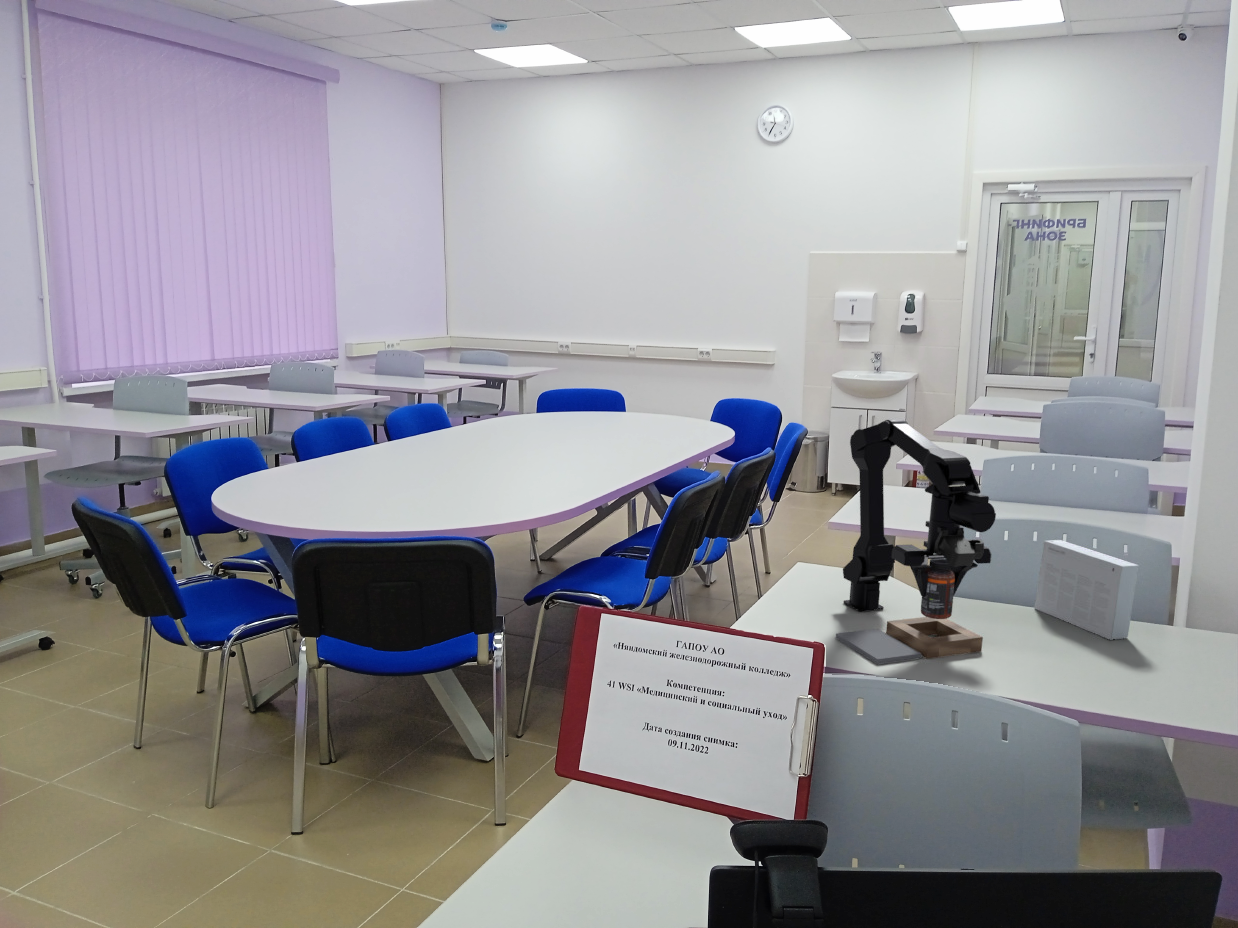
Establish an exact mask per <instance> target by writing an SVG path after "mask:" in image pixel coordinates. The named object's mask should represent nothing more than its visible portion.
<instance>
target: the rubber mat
mask: <svg viewBox="0 0 1238 928" xmlns="http://www.w3.org/2000/svg"><path fill="white" fill-rule="evenodd" d="M835 639H836V640H838V641H839V642H841V643H843V644H844V645H845V646H847V647H849V648H850V649H853V650H854V651H856V653H858V654H860V655H862V656H864V657H865V658H866V659H868V660H870V661H871V662H873V663H875V664H876V665H882V664H883V665H884V664H890V663H896V662H897V663H898V662H905V661H910V660H918V659H922V656H921V653H920V652H918V651H916V650H914V649H913V648H911V647H909V646H907V645H906V644H904V643H902V642H900V641H899V640H897V639H895V638H893V637H892V636H890V635H888V634H886V631H885V632H884V631H883V630H881V629H880V628H870V629H862V630H861V629H860V630H854V631H846V632H845V631H844V632H838V633H837V632H836V633H835Z"/></svg>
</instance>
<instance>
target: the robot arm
mask: <svg viewBox="0 0 1238 928" xmlns="http://www.w3.org/2000/svg"><path fill="white" fill-rule="evenodd" d="M849 445H850V452H851V458H852V461H853V462H854V464H855V465H856V466H857V468H858V470H859V471H858V472H859V516H860V517H859V519H860V520H859V521H860V525H859V526H860V528H859V530H860V536H859V538H858V539H857V540H856V543H855V545H854V546H853V551H852V559H851V560H850V561H849V562H848V563H847V564H846V565H845V566H844V567H843V568H842V573H843V579H844V580H847V581H848V582H850V589H849V599H846V600H843V604H845V605H846V606H848V607H850V608H852V609H854V610H856V611H857V612H868V611H880V610H881V611H882V610H884V608H885V607H884V605H881V604H880V594H881V591H880V586H881V583H880V582H887V581H888V580H889V578H890V575H891V574H892V573H891V572H892V571H893V569H894V564H895V563H896V562H898V563H899V564H901V565H903V566H906V567H910V569H911V571H912V573H913V576H914V579H915V582H916V586H917V588H918V590H919V594H920V596H921V597H922V596H923V597H925V596H926V591H927V579H928V572H929V571H930V569H931V568H932V567H931V566H929V564H928V563H929V560H930V559H946V560H947V562H948V564H949V565H951V568H950V570H951V571H952V572H953V573H954V575H955V583H954V594H953V597H954V596H955V594H956V592H957V591H958V588H959V587H960V585H961V583H962V581H963V579H964V578H965V576H966V574H967V573H968V572H969V571H970V570H972V569H974V568H977V567H978V566H979V565H980V564H991V562H992V556H993V555H992V552H991V550H990V549H989V547H986V546H985V543H984V541H983V540H982V539H980V538H979V539H966V538H965V530H964V528H966V529H969V530H972V531H975V532H977V533H985V532H987V531H989V530H990V529H991V528H992V527H993V525H994V523H995V521H996V516H997V513H996V510H995V507H994V506H993V505H992V504H991V503H990V502H989V501H990V497H989V495H985V494H981V490H980V486H979V483H978V481H977V478H976V476H975V473H974V470H973V468H972V465H971V461H970V460H969V459H968V458H967V456H965V455H963V454H961V453H958V452H955V451H952V450H948V449H944V448H941V447H940V446H938V445H936V444H935V443H934V442H933V441H931V440H929V438H927V437H926V436H924V435H923V434H922V433H920V432H919V431H918V430H916V429H915V428H913V427H912V426H911V425H909V423H908V422H907V421H906V420H904V419H901V418H898V419H896V418H895V419H885V420H883V421H881V422H879V423H878V424H874V425H872V426H869V427H865V428H859V429H856V430H855V431H854V432H853V434H851V436H850V440H849ZM895 446H896V447H898V448H899V450H902V452H904V453H905V454H906V455H908V456H910V458H912V459H913V460H915V461H916V462H917V463H918V464H919V465H921V467H922V472H923V475H924V476H925V477H926V478H927V479H928V480H929V481H930V482H931V484H930V485H928V486H927V487H926V488H924V491H925V493H928V494H931V502H930V503H931V504H930V511H929V512H930V513H929V520H926V521H925V524H924V526H925V527H927V528H928V535H927V540H924V541H923V547H925V549H923V548H922V549H921V548H919V547H917V546H915V545H914V544H895V546H894V544H893V543H891V544H890V543H889V541H888V540H887V538H886V536H885V516H884V515H885V510H884V509H885V506H884V505H885V502H884V500H885V499H884V498H885V497H884V469H885V467H886V465H888V462H889V460H890V458H891V454H892V453H891V452H892V448H893V447H895ZM978 564H979V565H978Z"/></svg>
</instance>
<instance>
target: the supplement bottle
mask: <svg viewBox="0 0 1238 928" xmlns="http://www.w3.org/2000/svg"><path fill="white" fill-rule="evenodd" d="M928 565H929V566H931V567H932V568H931V569H930V571H929V572H928V579H927V591H926V596H925V597H923V596H921V600H920V601H921V603H920V613H921V614H922V615H923V617H929V618H933V619H949V618H951V617H952V614H953V603H954V596H953V594H954V583H955V575H954V573H953V572H952V571H951V570H950V568H951V565H949V564H948V562H947V560H946V559H945V558H944V559H929V564H928Z"/></svg>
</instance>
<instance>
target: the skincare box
mask: <svg viewBox="0 0 1238 928" xmlns="http://www.w3.org/2000/svg"><path fill="white" fill-rule="evenodd" d="M1042 543H1043V545H1042V553H1041V561H1040V566H1039V571H1038V580H1037V589H1036V590H1037V591H1036V594H1035V600H1034V601H1035V603H1034V609H1035V610H1037V611H1040V612H1041V613H1044V614H1047V615H1049V616H1052V617H1054V618H1055V619H1058V618H1059V619H1058V620H1061V621H1063V620H1064V621H1063V622H1066V623H1068V622H1069V623H1068V624H1070V623H1071V625H1073V626H1075V625H1076V627H1077V628H1080V629H1083V630H1085V631H1088V632H1090V633H1092V634H1094V633H1095V634H1094V635H1097V634H1098V635H1097V636H1099V635H1100V637H1102V638H1104V637H1105V638H1104V639H1107V640H1109V639H1110V640H1109V641H1113V639H1115V640H1120V639H1123V638H1124V639H1127V638H1126V637H1129V631H1130V624H1131V618H1132V611H1133V606H1134V600H1135V599H1134V597H1135V593H1136V587H1137V579H1138V573H1139V567H1140V565H1139V564H1136V563H1133V562H1129V561H1127V560H1123V559H1120V558H1117V557H1115V556H1111V555H1108V554H1105V553H1102V552H1099V551H1096V550H1092V549H1089V548H1086V547H1083V546H1080V545H1078V544H1074V543H1071V542H1068V541H1065V540H1061V539H1056V540H1055V539H1053V540H1052V539H1051V540H1050V539H1049V540H1043V542H1042Z"/></svg>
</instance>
